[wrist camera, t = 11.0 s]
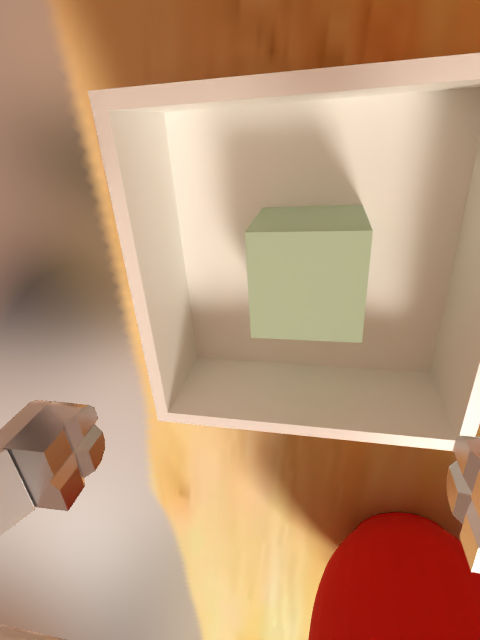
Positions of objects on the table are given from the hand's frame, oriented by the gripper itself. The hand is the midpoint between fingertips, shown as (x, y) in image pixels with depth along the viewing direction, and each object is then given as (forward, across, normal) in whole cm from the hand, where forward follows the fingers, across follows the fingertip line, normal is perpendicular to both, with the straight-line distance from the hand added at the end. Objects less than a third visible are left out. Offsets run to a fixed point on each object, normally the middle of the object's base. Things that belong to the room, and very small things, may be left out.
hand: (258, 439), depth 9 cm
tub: (+12, -1, -1) cm, 12 cm away
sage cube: (+12, -1, -1) cm, 12 cm away
